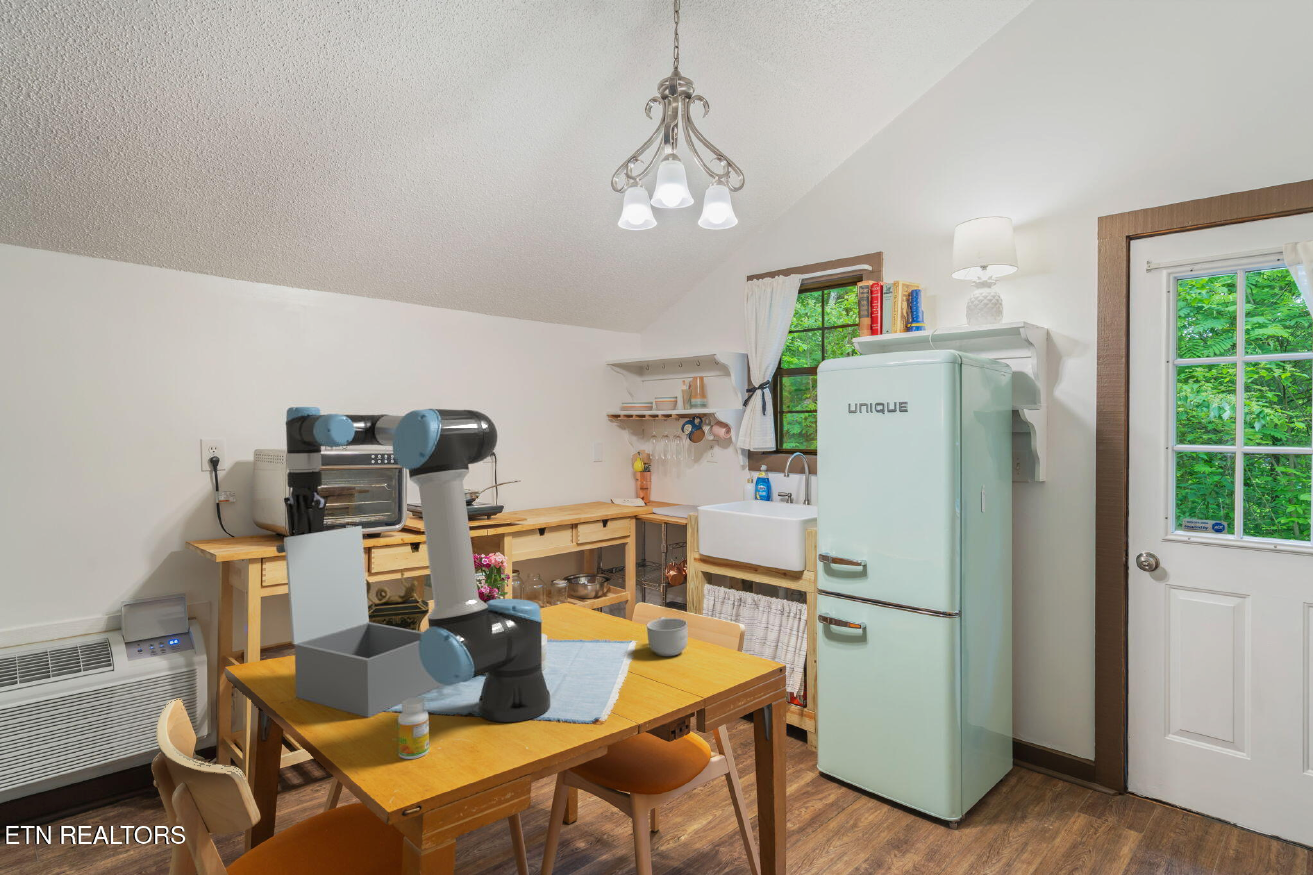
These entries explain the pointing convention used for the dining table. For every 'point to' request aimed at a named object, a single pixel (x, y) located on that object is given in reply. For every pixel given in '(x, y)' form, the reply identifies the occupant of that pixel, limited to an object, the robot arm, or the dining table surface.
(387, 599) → the decorative box
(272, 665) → the dining table surface
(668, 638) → the teacup
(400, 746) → the supplement bottle
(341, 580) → the lid flap
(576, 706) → the dining table surface
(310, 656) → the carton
